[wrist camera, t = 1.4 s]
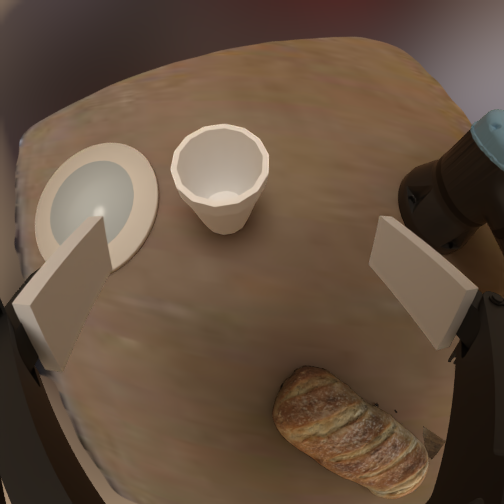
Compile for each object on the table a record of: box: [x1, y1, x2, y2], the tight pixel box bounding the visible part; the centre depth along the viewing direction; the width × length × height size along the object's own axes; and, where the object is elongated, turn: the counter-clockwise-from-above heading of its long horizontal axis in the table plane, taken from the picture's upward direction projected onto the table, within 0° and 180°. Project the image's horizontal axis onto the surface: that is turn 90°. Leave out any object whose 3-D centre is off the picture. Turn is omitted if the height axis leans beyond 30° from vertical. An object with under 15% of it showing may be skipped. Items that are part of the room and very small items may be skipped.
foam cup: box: [171, 124, 269, 235], centre depth 33 cm, size 10×9×13 cm
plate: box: [35, 143, 159, 274], centre depth 38 cm, size 22×22×1 cm
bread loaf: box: [272, 366, 446, 499], centre depth 28 cm, size 35×18×9 cm, turn 57°
